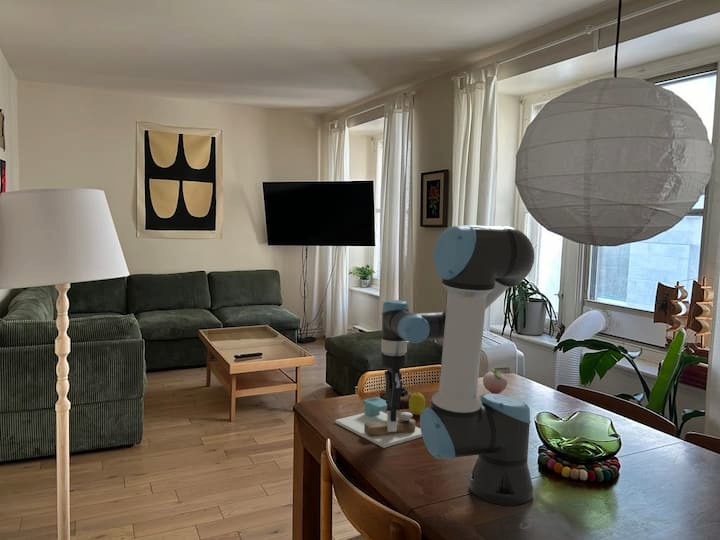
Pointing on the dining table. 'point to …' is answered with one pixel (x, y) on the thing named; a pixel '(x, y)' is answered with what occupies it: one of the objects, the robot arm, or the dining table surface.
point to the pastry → (403, 400)
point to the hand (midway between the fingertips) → (391, 430)
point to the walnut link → (381, 427)
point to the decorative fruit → (494, 382)
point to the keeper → (374, 406)
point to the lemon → (417, 403)
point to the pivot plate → (385, 440)
